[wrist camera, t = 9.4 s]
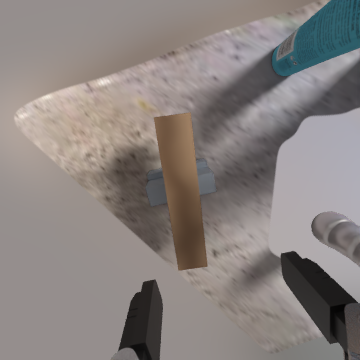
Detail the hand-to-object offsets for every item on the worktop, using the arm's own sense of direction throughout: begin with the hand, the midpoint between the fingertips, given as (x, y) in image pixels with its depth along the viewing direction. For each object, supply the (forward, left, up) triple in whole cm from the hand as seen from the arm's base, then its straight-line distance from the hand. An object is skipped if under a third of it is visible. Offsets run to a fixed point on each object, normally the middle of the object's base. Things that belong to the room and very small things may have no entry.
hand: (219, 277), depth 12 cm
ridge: (+1, -1, -23) cm, 23 cm away
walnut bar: (+1, -1, -16) cm, 16 cm away
